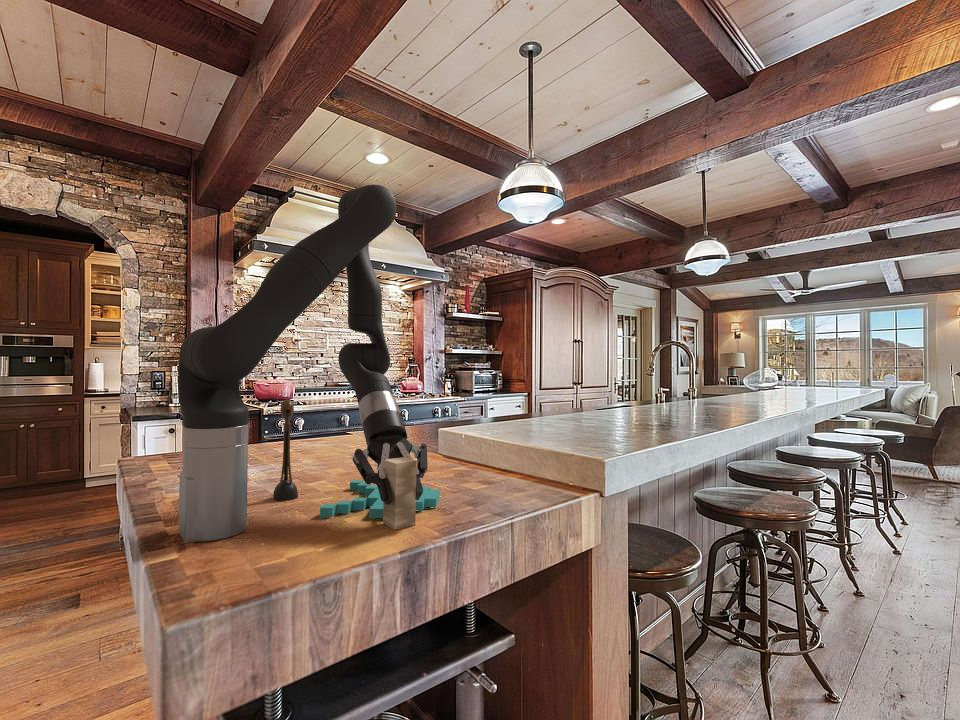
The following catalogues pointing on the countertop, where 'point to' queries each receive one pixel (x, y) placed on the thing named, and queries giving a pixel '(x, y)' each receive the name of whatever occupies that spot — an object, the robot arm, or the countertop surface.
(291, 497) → the wooden tabletop sculpture
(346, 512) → the teal pixel invader
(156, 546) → the countertop surface
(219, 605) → the countertop surface
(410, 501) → the tall wooden block
